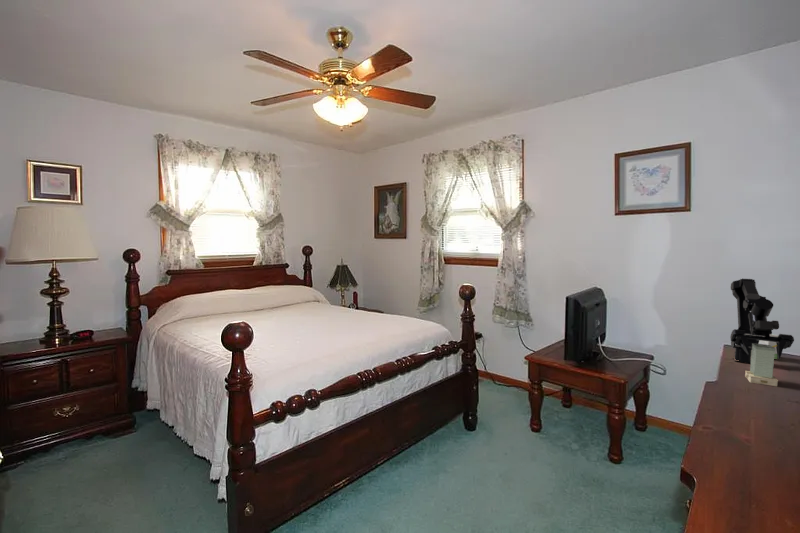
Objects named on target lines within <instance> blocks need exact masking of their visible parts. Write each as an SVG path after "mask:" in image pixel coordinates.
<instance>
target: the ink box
mask: <svg viewBox="0 0 800 533" xmlns="http://www.w3.org/2000/svg"><path fill="white" fill-rule="evenodd" d="M770 336H771V337H778V336H779V334H773V333H772V334H770ZM759 344H764V345H771V346H772V347H774V348H775V355H774V359H777V360H778V357H777V350H776V347H777V344H776V342H769V341H760V340H759Z"/></svg>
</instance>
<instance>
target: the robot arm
mask: <svg viewBox="0 0 800 533" xmlns="http://www.w3.org/2000/svg"><path fill="white" fill-rule="evenodd" d="M730 290H731V292H732V294H731V295H732V296H733V297H734V298H735V299H736V303H737V307H736V308H737V324H738V328H737V329H733V330H732V331H731V334H730V346H731V347H732V348H733V349H735V350H734V357H735V359H736V360H739V361H741V362H740V363H743V362H746V364H751V355H752V343H755V344H759V340H760V341H769V342H776V344H777V347H776V350H777V360H778V359H779V360H780V359H781V358H782V357H781V356H782V354H783V350H787V349H789V348H791V347H792V345H793V344H794V342H795V338H794V336H793V335H792V334H785V333H779V334H778V335H779V336H778V337H771V336H770V334H773V331H774V330H778V329H780V324H779V320H771V321H770V320H768V318H767V317H769V316H770V313H771V312H772V310H773V307H774V302H772V301H771V300H769V299H767V297H766V296H762V295H760V294H759V292H758V289H757V283H756V280H755V279H753V278H740V279H738V280H733V281H732V282H731V283H730Z"/></svg>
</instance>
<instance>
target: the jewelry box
mask: <svg viewBox="0 0 800 533" xmlns="http://www.w3.org/2000/svg"><path fill="white" fill-rule="evenodd" d="M744 371H745V374H744V377H745V378H746V379H747V380H748V382H749V383H750V384H757V385H765V386H771V387H778V382H779V380H778V379H777V378H776V377H775V376H774V375H772V378H765V377H757V376H754V375H753V374H751V373H750V370H744Z"/></svg>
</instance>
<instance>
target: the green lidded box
mask: <svg viewBox="0 0 800 533" xmlns="http://www.w3.org/2000/svg"><path fill="white" fill-rule="evenodd" d="M774 355H775V348H774V347H772V346H771V345H764V344H755V343H752V350H751V363H750V365H749V371H750V373H751V374H753V375H754V376H757V377H765V378H772V375H773V374H774V364H775V363H774V362H775V360H774ZM773 376H774V375H773Z"/></svg>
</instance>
